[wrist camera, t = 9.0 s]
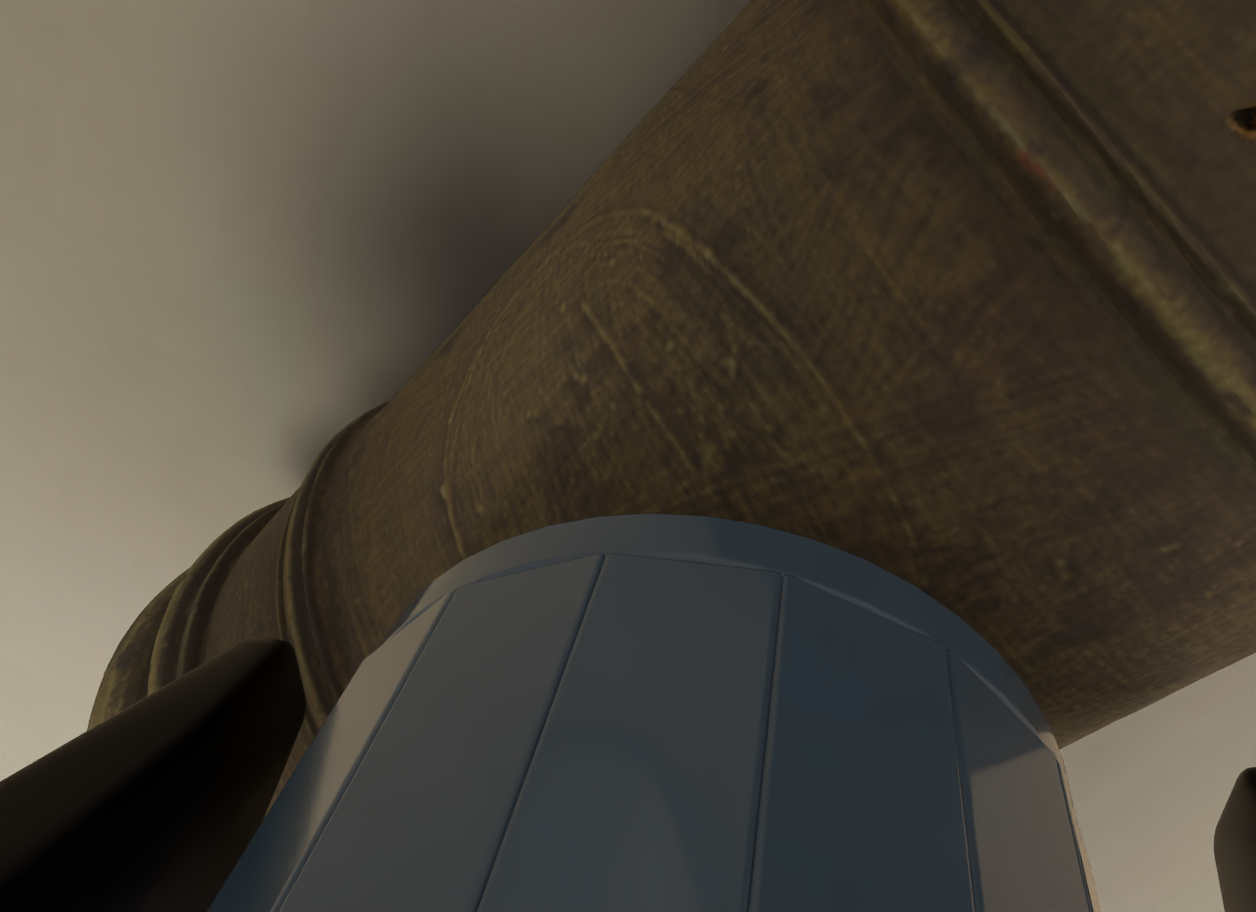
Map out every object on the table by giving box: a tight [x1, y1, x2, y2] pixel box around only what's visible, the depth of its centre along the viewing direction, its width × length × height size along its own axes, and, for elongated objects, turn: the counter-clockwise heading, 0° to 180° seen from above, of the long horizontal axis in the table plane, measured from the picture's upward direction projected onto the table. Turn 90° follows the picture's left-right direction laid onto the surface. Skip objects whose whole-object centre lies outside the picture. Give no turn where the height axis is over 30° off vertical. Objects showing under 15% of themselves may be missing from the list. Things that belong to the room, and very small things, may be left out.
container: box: [87, 0, 1256, 818], centre depth 13 cm, size 10×10×20 cm
